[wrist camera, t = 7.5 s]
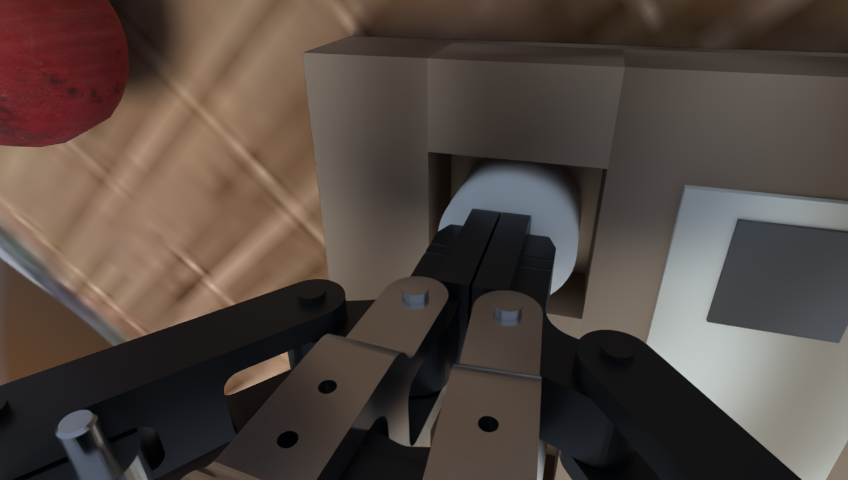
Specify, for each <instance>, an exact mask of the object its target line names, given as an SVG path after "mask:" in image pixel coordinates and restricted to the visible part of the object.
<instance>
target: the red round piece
mask: <svg viewBox="0 0 848 480" xmlns="http://www.w3.org/2000/svg"><path fill="white" fill-rule="evenodd" d="M128 79H129V55H128V45H127V38H126V35H125V33H124V30H123V27H122V25H121V22H120V19H119V17H118V15H117V13H116V12H115V10H114V9H113V7H112V5H111V4H110V2H109V1H108V0H0V145H5V146H23V147H43V146H49V145H54V144H60V143H66V142H67V141H69V140H71V139H73V138H75V137H77V136H78V135H80V134H82V133H84V132H86V131H88V130H89V129H91V128H93V127H94V126H96V125H98V124H100V123H101V122H103V121H105V120H106V119H108V118H110V117H111V115H112V114H113V112H114V110H115V109H116V107H117V106H118V104H119V103H120V101H121V99H122V96H123V93H124V90H125V87H126V84H127V81H128Z"/></svg>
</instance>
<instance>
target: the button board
mask: <svg viewBox="0 0 848 480" xmlns="http://www.w3.org/2000/svg"><path fill="white" fill-rule="evenodd" d="M302 55H303V63H304V72H305V80H306V88H307V97H308V105H309V114H310V122H311V130H312V139H313V147H314V155H315V164H316V172H317V181H318V189H319V197H320V206H321V214H322V223H323V231H324V239H325V248H326V256H327V264H328V273H329V280H330V281H333V282H336V283H338V284H339V285H341V286H342V287H343V289H344V291H345V296H346V301H355V300H374V299H377V298H378V297H379V295H380V294H381V293H382V292H383V290H384V289H385V288H386V287H387V286H388V285H389V284H390V283H392V282H394V281H396V280H398V279H401V278H405V277H410V276H411V274H412V273H413V271H414V269H415V268H416V266H417V264H418V263H419V261H420V259H421V258H422V256H423V254H424V253H425V252H426V250H427V248H428V246H429V245H431V241H432V240H433V238H434V236H435V235H436V233H437V232H438V229H439V225H440V221H441V219H442V216H443V214H444V212H445V210H446V209H447V207H448V206H449V204H450V202H451V201H452V199H453V198H454V196H455V194H456V193H457V191H458V190H459V188H460V187H461V185H462V183H463V182H464V180H465V179H466V177H467V176H468V174H469V173H470V171H471V170H472V169H473V167H475V166H476V165H477V164H478V163H479V162H480V161H481V160H483V159H484V158H486V157H487V158H498V159H508V160H519V161H529V162H539V163H550V164H560V165H563V166H564V167H565V168H566V169H567V170H568V171H569V173H570V174H571V175H572V177H573V178H574V180H575V182H576V184H577V186H578V188H579V191H580V195H581V199H582V215H581V223H580V232H579V240H578V249H577V257H576V262H575V265H574V268H573V270H572V273H571V274H570V276H569V278H568V279H567V280H566V282H565V283H564V284H563V285H562V286H561V287H560V288H559V289H558V290H557V291H555V292H554V293H552V294H551V295H550V299H549V305H548V311H547V317H548V319H549V320H550V322H551V323H552V324H553V325H554V326H555V327H556V328H558V329H559V330H560V331H562V332H564V333H565V334H568V335H570V336H572V337H574V338H577V339H580V338H581V337H582V336H583V335H585V334H587V333H589V332H592V331H596V330H616V331H620V332H624V333H627V334H630V335H632V336H635V337H637V338H639V339H640V340H642V341H643V342H645V343H646V344H647V345H648V346H650V347H651V348H652V349H653V350H654V351H655V352H656V353H658V354H659V355H660V356H661V357H662V358H663V359H664V360H666V361H667V362H668V363H669V364H670V365H671V366H673V367H674V368H675V369H676V370H677V371H678V372H679V373H681V374H682V375H683V376H684V377H685V378H686V379H687V380H689V381H690V382H691V383H692V384H693V385H694V386H695V387H697V388H698V389H699V390H700V391H701V392H702V393H703V394H705V395H706V396H707V397H708V398H709V399H710V400H711V401H713V402H714V403H715V404H716V405H717V406H718V407H719V408H721V409H722V410H723V411H724V412H725V413H726V414H727V415H729V416H730V417H731V418H732V419H733V420H734V421H735V422H737V423H738V424H739V425H740V426H741V427H742V428H743V429H745V430H746V431H747V432H748V433H749V434H750V435H751V436H753V437H754V438H755V439H756V440H757V441H758V442H759V443H761V444H762V445H763V446H764V447H765V448H766V449H767V450H769V451H770V452H771V453H772V454H773V455H774V456H775V457H777V458H778V459H779V460H780V461H781V462H782V463H784V464H785V465H786V466H787V467H788V468H789V469H790V470H792V471H793V472H794V473H795V474H796V475H797V476H798V477H800V478H801V479H802V480H848V53H830V52H802V51H773V50H744V49H715V48H686V47H658V46H629V45H600V44H571V43H542V42H514V41H485V40H456V39H427V38H398V37H370V36H350V37H347V38H344V39H341V40H338V41H335V42H332V43H329V44H326V45H323V46H320V47H318V48H315V49H312V50H309V51H306V52H303V53H302ZM447 384H448V383H447ZM440 411H441V409H440ZM440 411H439V413H438V415H437V417H436V420H435V422H434V424H433V426H432V428H431V430H430V432H429V434H428V436H427V438H426V441H425V443H424V445H423V447H431V445H432V442H433V438H434V434H435V430H436V426H437V423H438V419H439V415H440ZM543 480H572V479H571V478H570V476H569V475H568V473H567V472H566V470H565V469H564V467H563V466H562V464H561V461H560V458H559V449H557V448H555V447H553V446H551V445H550V444H548V443H547V450H546V458H545V465H544V473H543Z"/></svg>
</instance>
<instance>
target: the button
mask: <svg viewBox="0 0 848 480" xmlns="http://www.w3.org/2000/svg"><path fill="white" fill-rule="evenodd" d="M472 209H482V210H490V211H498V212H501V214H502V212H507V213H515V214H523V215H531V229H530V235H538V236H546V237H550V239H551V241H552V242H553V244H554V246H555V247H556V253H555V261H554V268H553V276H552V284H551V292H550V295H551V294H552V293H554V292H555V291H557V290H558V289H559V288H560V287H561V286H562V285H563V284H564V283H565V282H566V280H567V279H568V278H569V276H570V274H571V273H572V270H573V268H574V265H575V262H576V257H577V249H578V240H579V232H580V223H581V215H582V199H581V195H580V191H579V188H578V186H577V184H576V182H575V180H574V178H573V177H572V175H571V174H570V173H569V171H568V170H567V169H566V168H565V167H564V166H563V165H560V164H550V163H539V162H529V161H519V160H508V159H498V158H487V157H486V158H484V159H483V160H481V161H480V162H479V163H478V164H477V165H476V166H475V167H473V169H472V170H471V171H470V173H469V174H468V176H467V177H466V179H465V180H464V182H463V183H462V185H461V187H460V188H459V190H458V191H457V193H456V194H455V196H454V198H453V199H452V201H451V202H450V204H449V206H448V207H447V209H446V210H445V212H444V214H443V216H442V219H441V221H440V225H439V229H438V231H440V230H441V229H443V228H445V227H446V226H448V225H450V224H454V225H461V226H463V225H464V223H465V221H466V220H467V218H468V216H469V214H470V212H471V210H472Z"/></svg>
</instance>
